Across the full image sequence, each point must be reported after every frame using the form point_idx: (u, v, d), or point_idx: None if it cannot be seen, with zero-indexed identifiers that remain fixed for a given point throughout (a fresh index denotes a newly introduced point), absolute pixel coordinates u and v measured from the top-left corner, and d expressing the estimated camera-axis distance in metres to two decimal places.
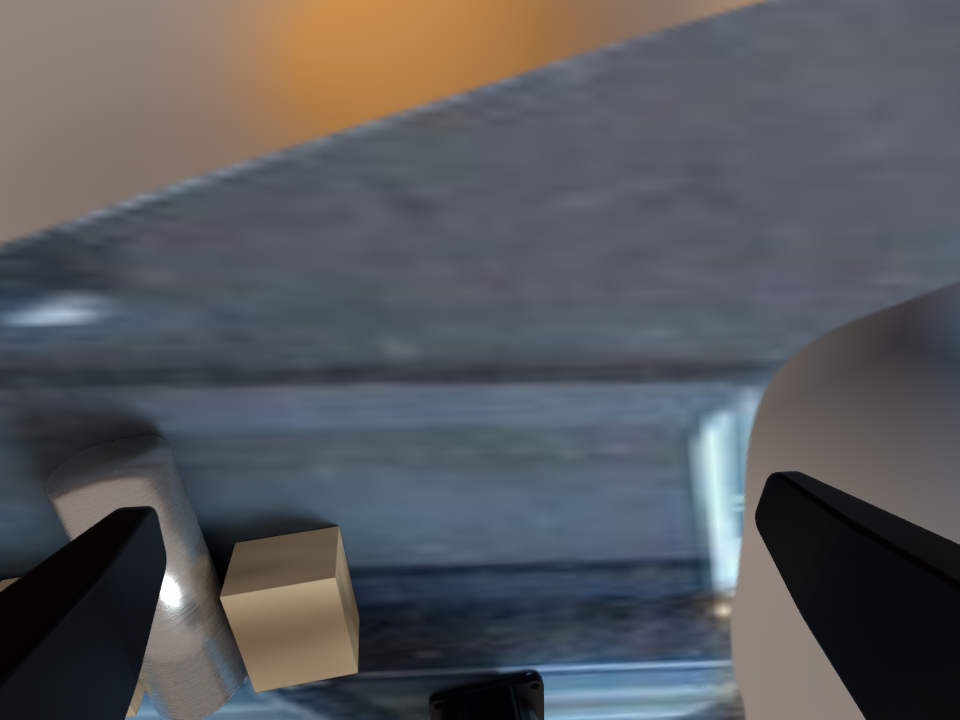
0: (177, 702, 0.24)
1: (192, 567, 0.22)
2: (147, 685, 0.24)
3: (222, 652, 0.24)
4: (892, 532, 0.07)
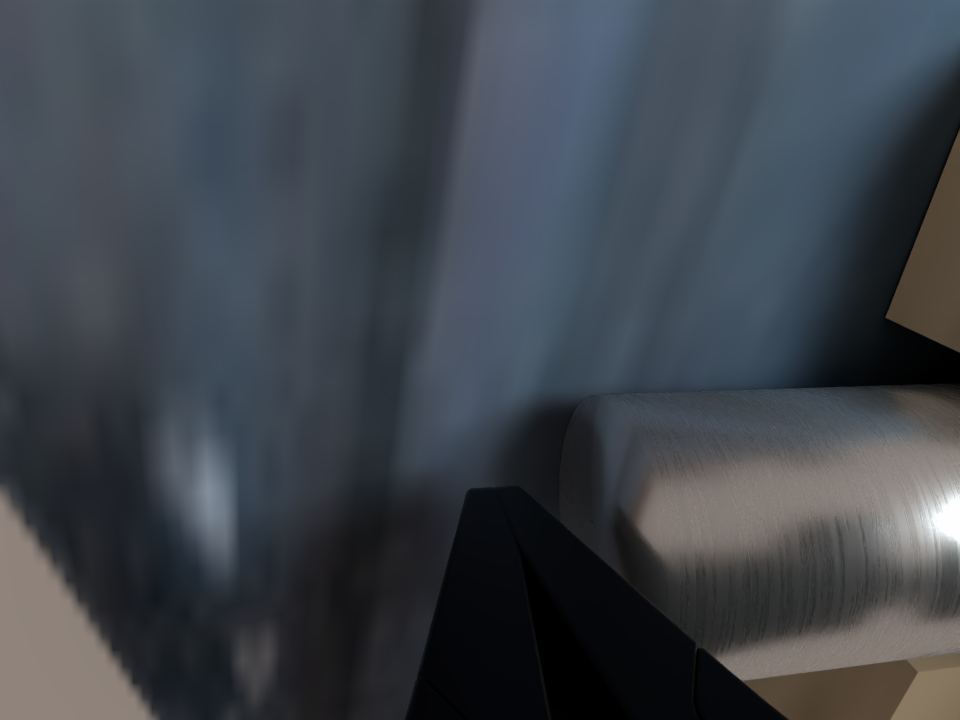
0: None
1: None
2: None
3: None
4: (552, 558, 0.06)
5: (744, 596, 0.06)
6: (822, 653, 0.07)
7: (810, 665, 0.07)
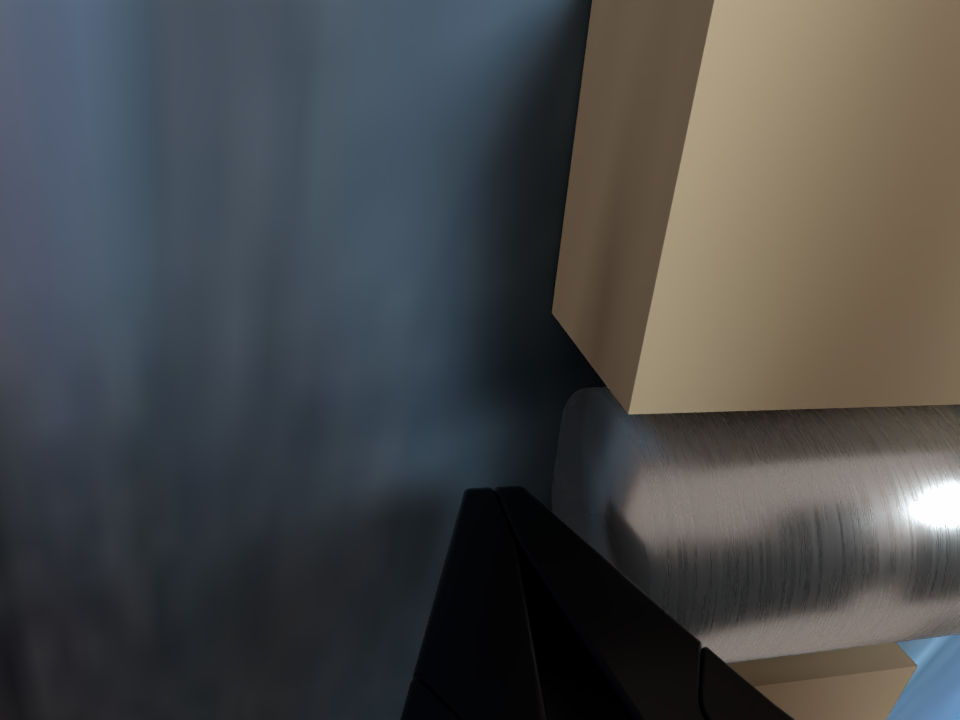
0: None
1: (954, 437, 0.08)
2: None
3: None
4: (555, 558, 0.06)
5: (724, 585, 0.07)
6: (800, 638, 0.07)
7: (788, 649, 0.07)
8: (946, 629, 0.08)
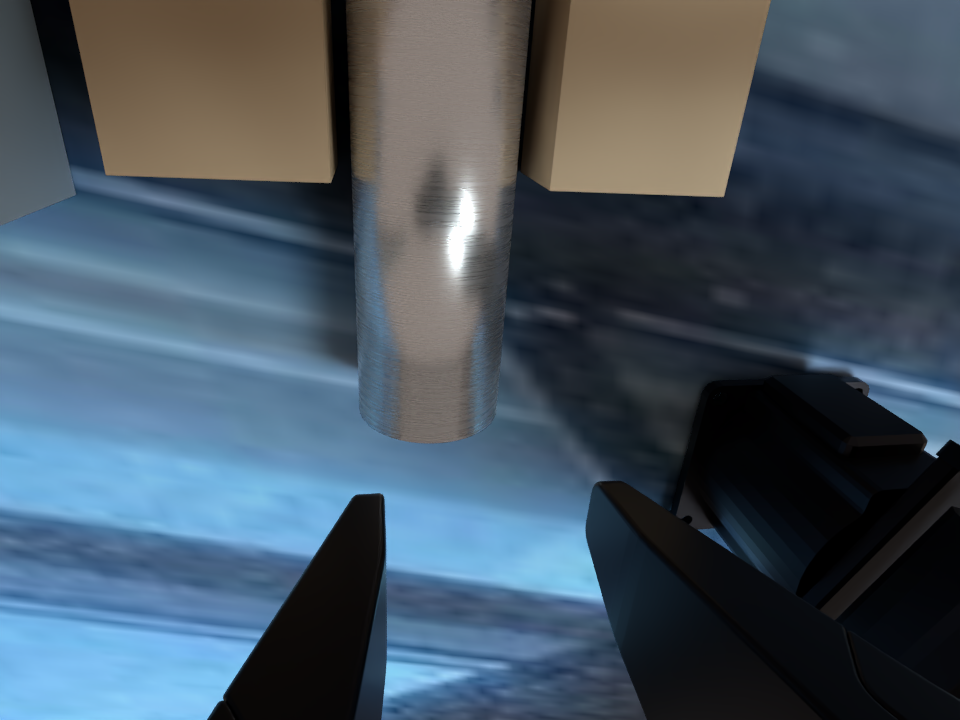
0: (429, 397, 0.15)
1: (516, 145, 0.13)
2: (387, 360, 0.14)
3: (498, 339, 0.15)
4: (680, 549, 0.07)
5: None
6: (427, 7, 0.11)
7: (411, 5, 0.11)
8: (411, 141, 0.12)
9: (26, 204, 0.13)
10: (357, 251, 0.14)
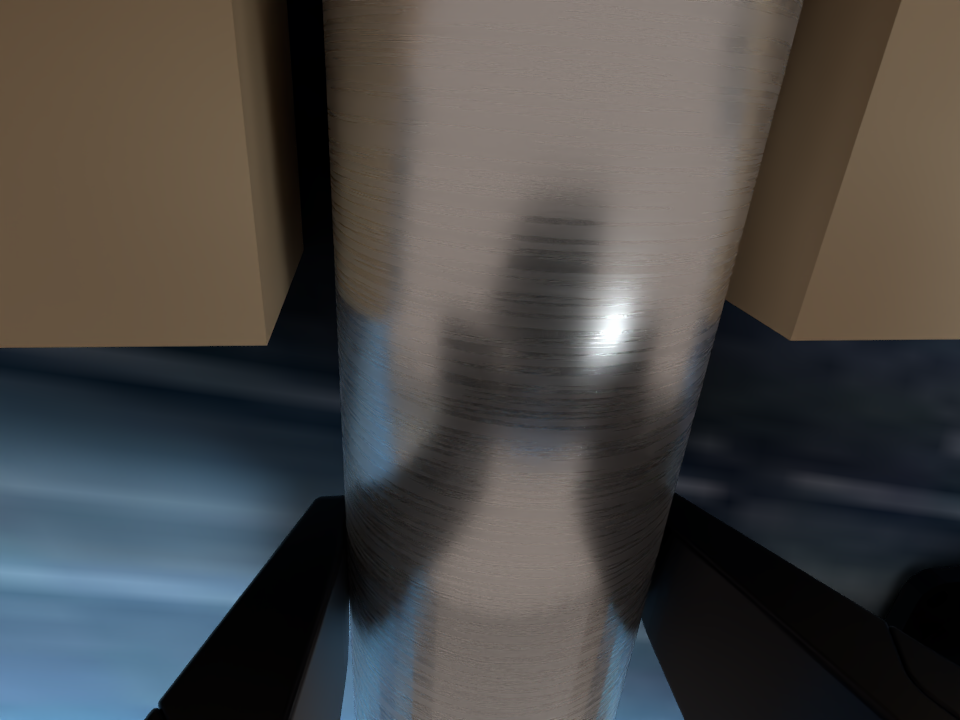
0: None
1: None
2: (424, 700, 0.06)
3: None
4: (717, 545, 0.07)
5: None
6: None
7: None
8: (521, 252, 0.04)
9: None
10: (352, 471, 0.06)
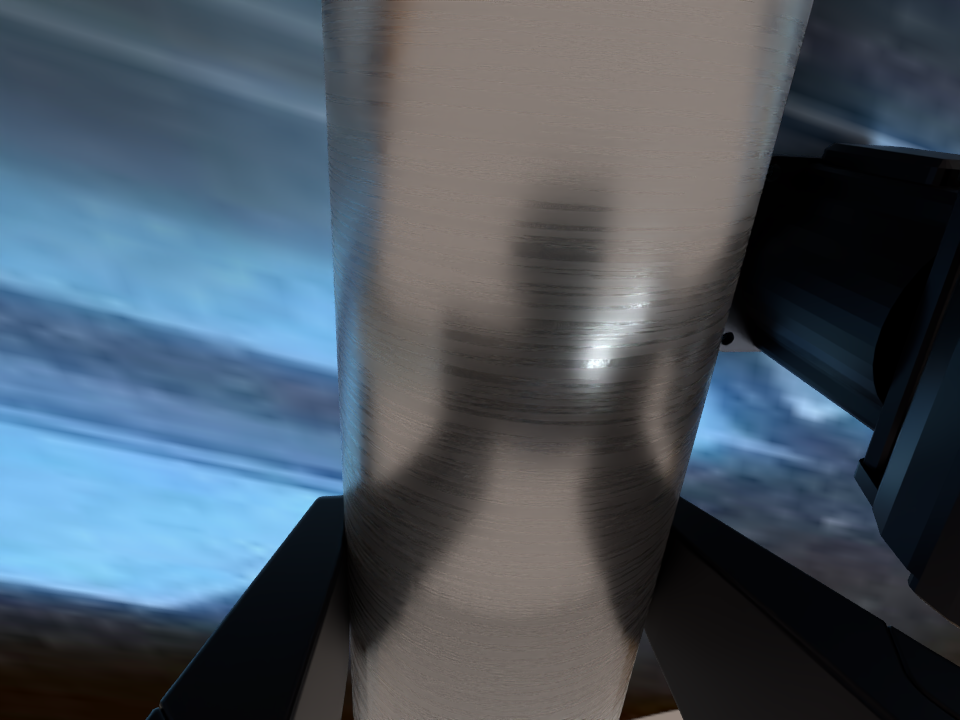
0: None
1: None
2: (424, 702, 0.06)
3: None
4: (716, 546, 0.07)
5: None
6: None
7: None
8: (525, 239, 0.04)
9: None
10: (351, 468, 0.06)
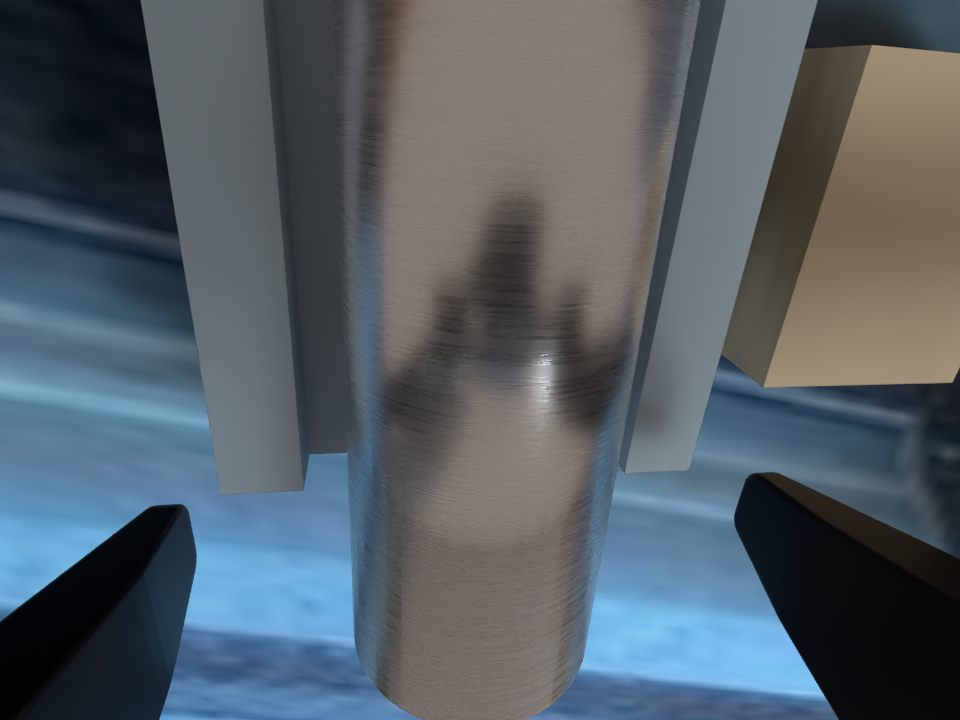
0: (489, 660, 0.08)
1: (666, 192, 0.07)
2: (412, 597, 0.08)
3: None
4: (866, 534, 0.07)
5: None
6: None
7: None
8: (477, 189, 0.05)
9: None
10: (352, 395, 0.07)
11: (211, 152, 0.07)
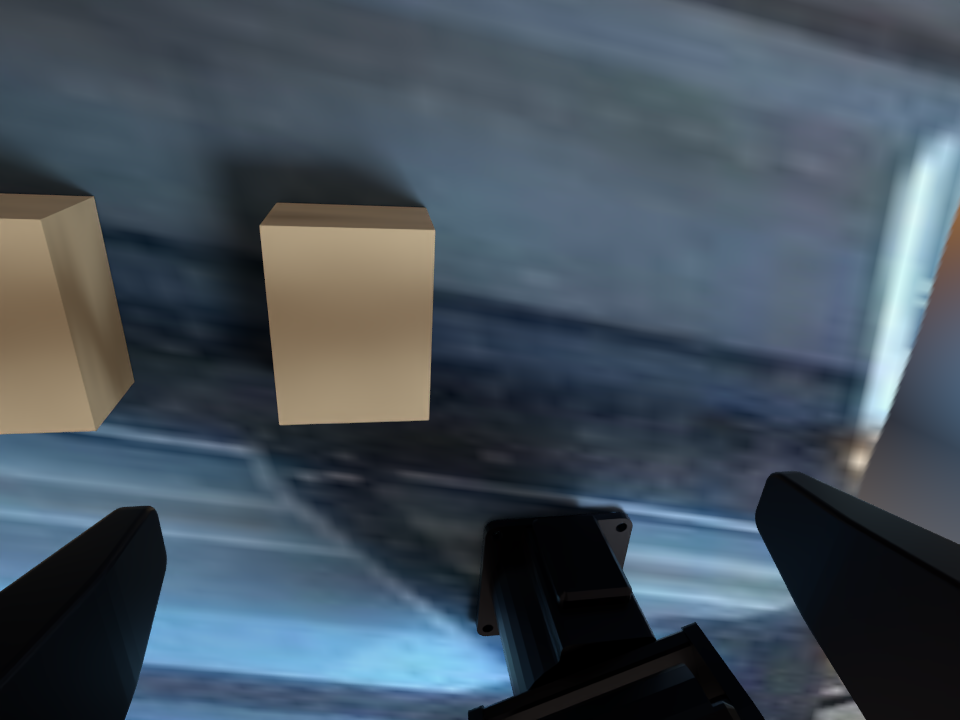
0: None
1: None
2: None
3: None
4: (892, 532, 0.07)
5: None
6: None
7: None
8: None
9: None
10: None
11: None
